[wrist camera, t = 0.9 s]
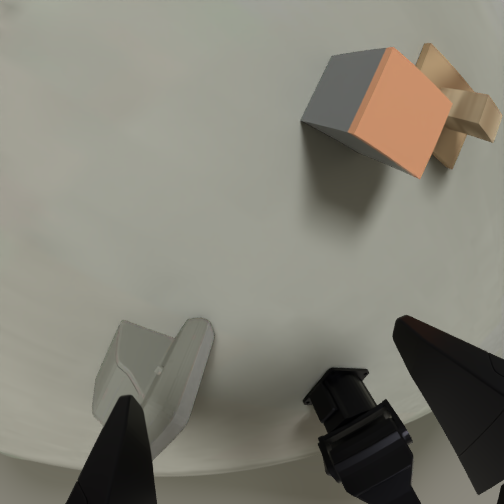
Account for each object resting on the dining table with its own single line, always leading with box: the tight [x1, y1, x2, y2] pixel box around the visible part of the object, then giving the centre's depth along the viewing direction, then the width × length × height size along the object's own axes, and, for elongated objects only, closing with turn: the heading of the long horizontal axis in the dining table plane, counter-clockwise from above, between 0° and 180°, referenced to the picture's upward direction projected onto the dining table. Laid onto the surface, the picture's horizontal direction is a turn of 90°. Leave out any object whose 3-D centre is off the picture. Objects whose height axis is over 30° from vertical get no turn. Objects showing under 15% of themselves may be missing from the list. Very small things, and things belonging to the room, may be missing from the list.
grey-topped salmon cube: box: [301, 47, 453, 179], centre depth 16 cm, size 5×5×7 cm
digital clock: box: [92, 318, 215, 461], centre depth 21 cm, size 16×9×11 cm, turn 134°
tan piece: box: [416, 43, 503, 169], centre depth 17 cm, size 8×8×6 cm
